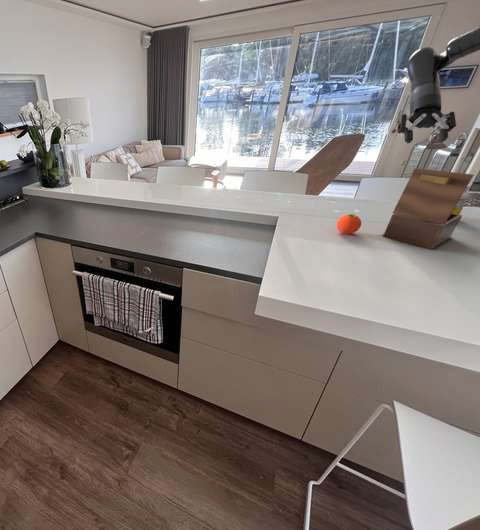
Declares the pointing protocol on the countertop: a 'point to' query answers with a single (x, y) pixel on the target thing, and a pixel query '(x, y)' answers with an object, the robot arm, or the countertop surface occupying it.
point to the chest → (421, 230)
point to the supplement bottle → (461, 201)
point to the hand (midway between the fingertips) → (425, 141)
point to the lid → (432, 195)
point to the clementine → (348, 223)
